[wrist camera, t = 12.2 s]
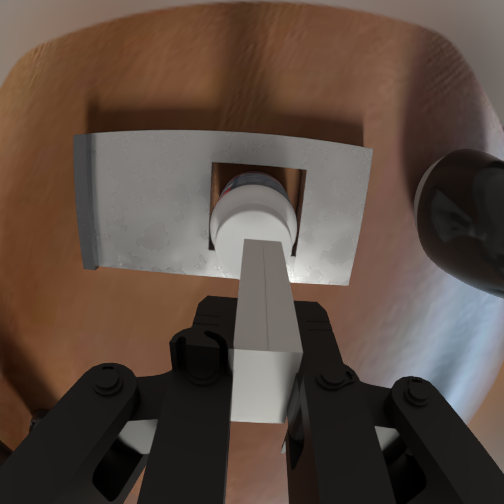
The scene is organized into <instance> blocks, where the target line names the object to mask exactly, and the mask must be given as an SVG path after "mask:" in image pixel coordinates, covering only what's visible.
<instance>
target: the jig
mask: <svg viewBox="0 0 504 504" xmlns="http://www.w3.org/2000/svg"><path fill="white" fill-rule="evenodd" d="M372 153H373V149H371V148H366V147H361V146H355V145H349V144H343V143H337V142H330V141H323V140H316V139H308V138H300V137H292V136H282V135H272V134H261V133H248V132H232V131H209V130H138V131H116V132H101V133H89V134H80V135H74V182H75V198H76V211H77V221H78V230H79V239H80V246H81V254H82V260H83V267H84V269H90V270H96V269H97V268H98V267H99V266H104V267H113V268H123V269H133V270H143V271H154V272H165V273H176V274H187V275H199V276H211V277H224V278H235V277H233V276H231V275H230V274H229V273H227V272H226V271H225V270H224V269H223V268H222V266H221V265H220V263H219V262H218V259H217V257H216V254H215V247H214V244H213V242H212V239H211V234H210V221H211V216H212V212H213V196H214V176H215V162H220V163H237V164H251V165H264V166H275V167H286V168H295V169H302V176H301V185H300V194H299V202H298V210H297V218H296V220H297V234H296V239H295V242H294V244H293V247H292V252H291V257H290V259H289V261H288V263H287V265H286V267H287V272H288V276H289V281H290V282H296V283H312V284H330V285H348V283H349V279H350V275H351V270H352V266H353V262H354V257H355V252H356V248H357V243H358V238H359V233H360V228H361V222H362V217H363V212H364V206H365V200H366V194H367V188H368V181H369V175H370V168H371V161H372Z"/></svg>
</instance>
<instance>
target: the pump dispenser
mask: <svg viewBox="0 0 504 504" xmlns="http://www.w3.org/2000/svg"><path fill="white" fill-rule="evenodd" d="M414 219H415V225H416V229H417V232H418V235H419V239H420V242H421V245H422V247H423V249H424V251H425V253H426V254H427V256H428V257H429V258H430V259H431V260H432V261H433V262H434V263H435V264H436V265H437V266H438V267H439V268H441V269H442V270H444V271H445V272H447V273H448V274H450V275H452V276H453V277H455V278H457V279H458V280H460V281H462V282H464V283H466V284H468V285H470V286H472V287H474V288H476V289H479V290H481V291H484V292H486V293H489V294H492V295H494V296H497V297H500V298H503V299H504V161H503V160H501V159H499V158H497V157H495V156H493V155H490V154H488V153H485V152H483V151H479V150H475V149H460V150H456V151H453V152H451V153H449V154H448V155H446V156H444V157H442V158H440V159H439V160H437V161H436V162H435V163H433V164H432V165H431V166H430V167H429V168H428V170H427V171H426V172H425V173H424V175H423V177H422V178H421V180H420V182H419V185H418V187H417V191H416V194H415V200H414Z"/></svg>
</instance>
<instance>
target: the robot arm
mask: <svg viewBox="0 0 504 504" xmlns="http://www.w3.org/2000/svg"><path fill="white" fill-rule="evenodd" d="M169 345H170V353H171V362H172V370H171V371H169V372H166V373H164V374H161V375H155V376H146V377H136V376H135V375H134V373H133V372H132V370H130V369H129V368H127V367H126V366H124V365H121V364H117V363H103V364H100V365H97V366H94V367H92V368H91V369H89V370H88V371H87V372H85V373H84V374H83V376H82V377H81V378H80V379H79V380H78V381H77V382H76V383H75V384H74V385H73V386H72V387H71V388H70V389H69V390H68V392H67V393H66V394H65V395H64V396H63V397H62V398H61V399H60V400H59V401H58V402H57V403H56V405H55V406H54V407H53V408H52V409H51V410H50V411H48V410H38V411H36V412H35V414H34V416H33V417H32V419H31V422H30V429H29V435H28V436H27V437H26V438H25V439H24V440H23V441H22V443H21V444H20V445H19V446H18V447H17V448H16V449H15V451H13V450H11V449H10V448H9V447H8V446H6V445H5V444H4V443H3V442H2V441H1V440H0V504H123V503H124V501H125V499H126V498H127V496H128V494H129V493H130V491H131V489H132V488H133V486H134V484H135V483H136V481H137V479H138V478H139V476H140V474H141V473H142V471H143V469H144V468H145V466H146V469H145V473H144V477H143V481H142V485H141V489H140V493H139V497H138V501H137V504H225V496H226V482H227V467H228V453H229V439H230V423H231V421H240V422H259V423H285V420H286V416H287V418H288V430H287V433H286V436H285V439H284V442H283V445H282V450H281V453H285V451H286V460H287V477H288V494H289V504H504V474H503V472H502V471H501V470H500V469H499V467H498V466H497V464H496V463H495V462H494V460H493V459H492V458H491V456H490V455H489V454H488V452H487V451H486V450H485V448H484V447H483V446H482V445H481V443H480V442H479V441H478V439H477V438H476V437H475V436H474V435H473V433H472V432H471V430H470V429H469V428H468V427H467V425H466V424H465V423H464V422H463V420H462V419H461V418H460V417H459V415H458V414H457V413H456V412H455V411H454V409H453V408H452V407H451V406H450V404H449V403H448V402H447V401H446V400H445V398H444V397H443V396H442V395H441V394H440V392H439V391H438V390H437V389H436V388H435V387H434V386H433V385H432V384H431V383H430V382H429V381H426V380H424V379H422V378H420V377H414V376H408V377H402V378H400V379H399V380H397V381H396V382H395V383H394V385H393V387H392V388H385V387H380V386H374V385H370V384H367V383H363V382H361V381H360V380H359V378H358V376H357V374H356V373H355V371H354V370H352V369H351V368H350V367H349V366H347V365H345V364H343V361H342V358H341V354H340V351H339V348H338V345H337V342H336V339H335V336H334V333H333V332H332V327H331V324H330V321H329V318H328V315H327V312H326V310H325V309H324V308H323V307H322V306H321V305H320V304H319V303H318V302H307V301H293V297H292V292H291V287H290V281H289V276H288V272H287V267H286V262H285V257H284V252H283V247H282V242H280V241H267V240H254V239H244V245H243V254H242V264H241V274H240V283H239V293H238V298H230V297H218V296H207V297H206V298H204V299H203V300H202V301H201V302H200V303H199V304H198V307H197V311H196V315H195V318H194V321H193V325H192V327H191V328H187V329H184V330H182V331H180V332H178V333H177V334H175V335H174V336H173V338H172V339H171V341H170V342H169ZM146 464H147V465H146Z"/></svg>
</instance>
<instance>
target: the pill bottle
mask: <svg viewBox="0 0 504 504" xmlns="http://www.w3.org/2000/svg"><path fill="white" fill-rule="evenodd" d="M210 234H211V239H212V242H213V244H214V247H215V254H216V257H217V259H218V262H219V263H220V265H221V266H222V268H223V269H224V270H225V271H226V272H227V273H229V274H230V275H231V276H233V277H235V278H237V279H240V274H241V264H242V254H243V245H244V239H254V240H267V241H280V242H282V247H283V252H284V257H285V262H286V265H287V263H288V261H289V259H290V257H291V252H292V247H293V244H294V242H295V239H296V234H297V220H296V215H295V212H294V209H293V207H292V205H291V202H290V200H289V198H288V196H287V193H286V191H285V189H284V188H283V186H282V185H281V183H280V182H279V181H278V180H277V179H275V178H274V177H272V176H271V175H269V174H266V173H263V172H258V171H250V172H245V173H242V174H239V175H237V176H235V177H234V178H233V179H231V180H230V181H229V182H228V183H227V185H226V186H225V188H224V189H223V191H222V193H221V195H220V197H219V200H218V202H217V203H216V205H215V208H214V210H213V212H212V216H211V221H210Z"/></svg>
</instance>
